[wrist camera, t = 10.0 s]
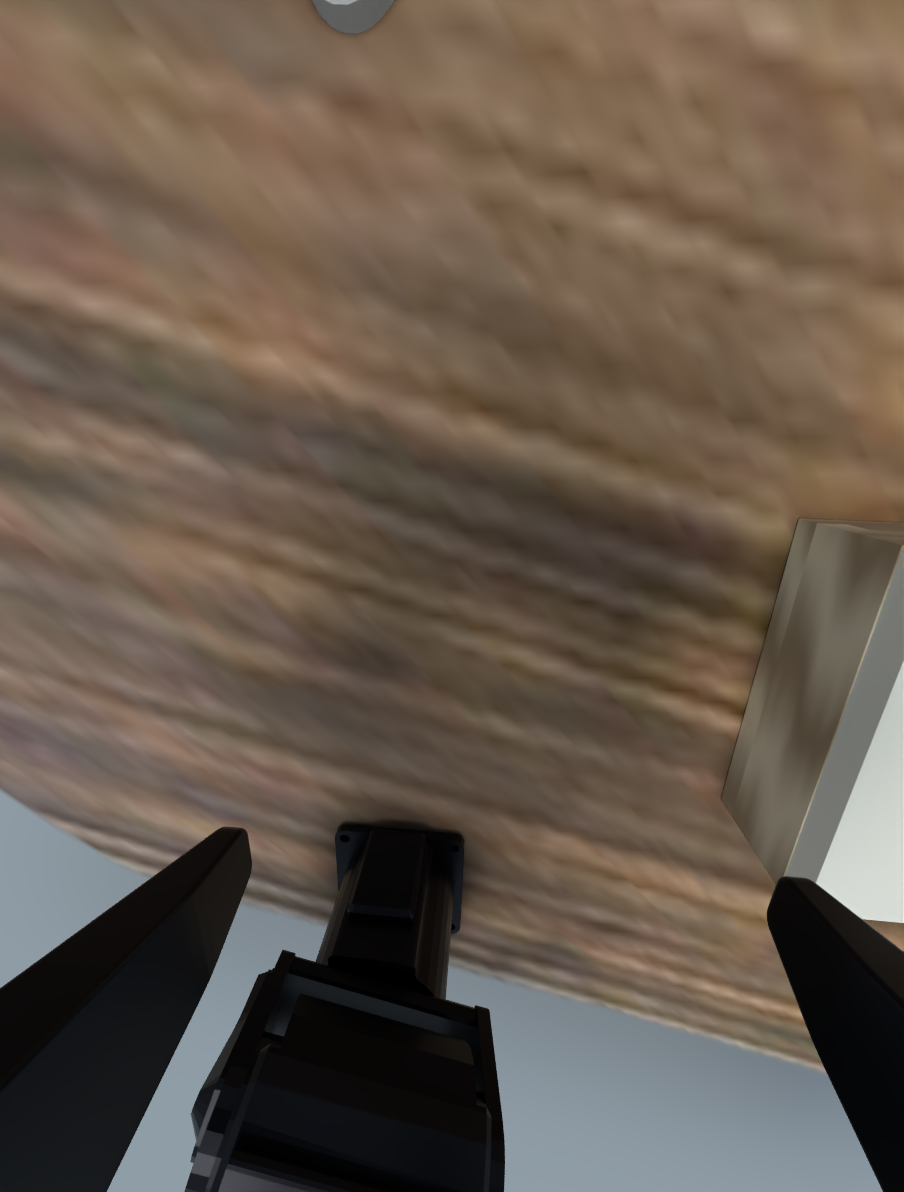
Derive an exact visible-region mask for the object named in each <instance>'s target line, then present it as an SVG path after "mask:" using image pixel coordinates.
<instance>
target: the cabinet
mask: <svg viewBox="0 0 904 1192" xmlns="http://www.w3.org/2000/svg"><path fill="white" fill-rule="evenodd" d="M901 553H904V523H897V522H873V521H849V520H824V519H800V518H799V520H798V524H797V527H796V531H795V534H794V538H793V542H792V545H791V549H790V552H789V556H788V560H787V563H786V567H785V570H784V574H783V578H782V581H781V585H780V588H779V592H778V596H777V599H776V603H775V606H774V610H773V614H772V617H771V621H770V624H769V628H768V632H767V635H766V639H765V642H764V646H763V649H762V653H761V657H760V660H759V664H758V667H757V671H756V675H755V678H754V682H753V685H752V689H751V693H750V696H749V700H748V703H747V707H746V711H745V714H744V718H743V721H742V725H741V729H740V732H739V736H738V739H737V743H736V747H735V750H734V754H733V757H732V761H731V765H730V768H729V772H728V775H727V779H726V783H725V786H724V790H723V793H722V797H721V800H722V801H723V803H724V805H725V806H726V808H727V809H728V811H729V812H730V814H731V815H732V817H733V819H734V820H735V822H736V823H737V825H738V826H739V828H740V829H741V831H742V833H743V834H744V836H745V837H746V839H747V840H748V842H749V843H750V845H751V847H752V848H753V850H754V851H755V853H756V854H757V856H758V858H759V859H760V861H761V862H762V864H763V865H764V867H765V868H766V870H767V872H768V873H769V875H770V876H771V878H772V879H773V881H774V882H775V884H777V881H778V879H780V878H781V877H783V876H785V874H786V871H787V868H788V866H789V863H790V860H791V857H792V855H793V852H794V849H795V846H796V844H797V841H798V838H799V835H800V833H801V830H802V827H803V824H804V821H805V819H806V816H807V813H808V810H809V808H810V805H811V802H812V799H813V797H814V794H815V791H816V788H817V786H818V783H819V780H820V777H821V774H822V772H823V769H824V766H825V763H826V761H827V758H828V755H829V752H830V750H831V747H832V744H833V741H834V739H835V736H836V733H837V730H838V728H839V725H840V722H841V719H842V716H843V714H844V711H845V708H846V705H847V703H848V700H849V697H850V694H851V692H852V689H853V686H854V683H855V681H856V678H857V675H858V672H859V670H860V667H861V664H862V661H863V658H864V656H865V653H866V650H867V647H868V645H869V642H870V639H871V636H872V634H873V631H874V628H875V625H876V623H877V620H878V617H879V614H880V611H881V609H882V606H883V603H884V600H885V598H886V595H887V592H888V589H889V587H890V584H891V581H892V578H893V576H894V573H895V570H896V567H897V565H898V562H899V559H900V556H901Z"/></svg>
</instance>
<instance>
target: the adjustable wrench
mask: <svg viewBox="0 0 904 1192" xmlns="http://www.w3.org/2000/svg"><path fill="white" fill-rule="evenodd" d="M312 1H313V3H314V5H315V7H316V9H317V11H318V13H319V15H320V16H321V17H322V18H323V19H324V20H325V21H326V22H327V23H328V24H329V25H330V27H332V28H334V29H336V30H338V31H340V32H342V33H347V34H359V33H361V32H363V31H366V30H368V29H371V28H372V27H373V26H374V25H375V24H376V23H377V22H378V21H379V20H380V19H381V18H382V17H383V16H384V14H385V13H386V12H387V10H388V9H389V8H390V6H391V5H392V4H393V2H394V1H395V0H312Z"/></svg>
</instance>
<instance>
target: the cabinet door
mask: <svg viewBox="0 0 904 1192" xmlns="http://www.w3.org/2000/svg"><path fill="white" fill-rule="evenodd" d="M785 876H790V877H801V878H807V879H810V880H812V881H813V882H815V883H816V884H818V885H819V886H820V887H821V888H823V889H824V890H825V891H827V892H828V893H829V894H830V895H832V896H833V897H834V898H836V899H837V900H838V901H839V902H841V903H842V904H843V905H844V906H846V907H847V908H848V909H850V910H851V911H852V912H853V913H855V914H856V915H857V916H859V917H860V918H861V919H868V920H878V921H889V922H900V923H904V553H901V556H900V559H899V562H898V565H897V567H896V570H895V573H894V576H893V578H892V581H891V584H890V587H889V589H888V592H887V595H886V598H885V600H884V603H883V606H882V609H881V611H880V614H879V617H878V620H877V623H876V625H875V628H874V631H873V634H872V636H871V639H870V642H869V645H868V647H867V650H866V653H865V656H864V658H863V661H862V664H861V667H860V670H859V672H858V675H857V678H856V681H855V683H854V686H853V689H852V692H851V694H850V697H849V700H848V703H847V705H846V708H845V711H844V714H843V716H842V719H841V722H840V725H839V728H838V730H837V733H836V736H835V739H834V741H833V744H832V747H831V750H830V752H829V755H828V758H827V761H826V763H825V766H824V769H823V772H822V774H821V777H820V780H819V783H818V786H817V788H816V791H815V794H814V797H813V799H812V802H811V805H810V808H809V810H808V813H807V816H806V819H805V821H804V824H803V827H802V830H801V833H800V835H799V838H798V841H797V844H796V846H795V849H794V852H793V855H792V857H791V860H790V863H789V866H788V868H787V871H786V874H785Z"/></svg>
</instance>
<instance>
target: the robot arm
mask: <svg viewBox="0 0 904 1192" xmlns="http://www.w3.org/2000/svg"><path fill="white" fill-rule="evenodd" d="M345 835H347V836H345ZM452 844H455V846H454V845H452ZM335 845H336V859H337V874H338V888H339V893H338V896H337V899H336V902H335V905H334V908H333V911H332V914H331V917H330V920H329V923H328V926H327V929H326V932H325V935H324V939H323V942H322V944H321V948H320V950H319V954H318V956H317V959H316V962H314V961H310V960H306V959H303V958H300V957H296V956H295V953H293V952H289V951H286V950H282V953H281V955H280V957H279V959H278V961H277V964H276V966H275V968H273V969H272V970H269V971H268V972H265V973H262V974H259V975H258V977H257V979H256V982H255V984H254V987H253V989H252V991H251V993H250V996H249V998H248V1000H247V1002H246V1005H245V1007H244V1010H243V1012H242V1014H241V1016H240V1018H239V1020H238V1022H237V1024H236V1026H235V1028H234V1030H233V1032H232V1034H231V1036H230V1038H229V1039H228V1041H227V1043H226V1045H225V1047H224V1049H223V1050H222V1052H221V1054H220V1056H219V1057H218V1059H217V1061H216V1063H215V1065H214V1067H213V1068H212V1070H211V1072H210V1074H209V1075H208V1077H207V1079H206V1081H205V1083H204V1084H203V1086H202V1088H201V1090H200V1092H199V1094H198V1097H197V1099H196V1102H195V1104H194V1107H193V1110H192V1113H191V1117H192V1122H193V1127H194V1132H195V1137H196V1144H195V1147H194V1150H193V1153H192V1157H191V1162H192V1163H194V1164H193V1167H192V1170H191V1173H190V1176H189V1179H188V1182H187V1186H186V1189H185V1192H504V1175H505V1145H504V1131H503V1120H502V1112H501V1103H500V1095H499V1087H498V1079H497V1070H496V1062H495V1054H494V1045H493V1037H492V1029H491V1021H490V1012H489V1009H487V1008H483V1007H480V1006H475V1007H474V1008H473V1007H470V1006H466V1005H462V1004H459V1003H455V1002H452V1001H449V1000H445V999H446V985H447V974H448V961H449V948H450V936H451V934H453V933H457V932H458V931H459V929H460V919H461V900H462V880H463V860H464V839H463V838H462V837H461V836H460V835H457V834H450V833H438V832H427V831H416V830H404V829H393V828H381V827H370V826H358V825H341V826H340V827H339V828H338V830H337V832H336V835H335ZM251 869H252V859H251V853H250V846H249V839H248V834H247V831H246V830H245V829H243V828H236V827H222V828H220V829H218V830H216V831H215V832H214V833H212V834H211V835H209V836H208V837H207V838H205V839H204V840H203V841H201V842H200V843H199V844H197V845H196V846H194V847H193V848H192V849H190V850H189V851H188V852H186V853H185V854H183V855H182V856H181V857H179V858H178V859H177V860H175V861H174V862H172V863H171V864H170V865H168V866H167V867H166V868H164V869H163V870H162V871H160V872H159V873H157V874H156V875H155V876H153V877H152V878H151V879H149V880H148V881H146V882H145V883H144V884H142V885H141V886H140V887H138V888H137V889H135V890H134V891H133V892H131V893H130V894H129V895H127V896H126V897H125V898H123V899H122V900H120V901H119V902H118V903H116V904H115V905H114V906H112V907H111V908H109V909H108V910H107V911H105V912H104V913H103V914H101V915H100V916H99V917H97V918H96V919H94V920H93V921H92V922H90V923H89V924H88V925H86V926H85V927H84V928H82V929H81V930H79V931H78V932H77V933H75V934H74V935H73V936H71V937H70V938H68V939H67V940H66V941H65V942H63V943H62V944H60V945H59V946H58V947H56V948H55V949H53V950H52V951H51V952H49V953H48V954H46V955H45V956H44V957H42V958H41V959H40V960H38V961H37V962H36V963H34V964H33V965H31V966H30V967H29V968H27V969H26V970H25V971H23V972H22V973H21V974H19V975H18V976H16V977H15V978H14V979H12V980H11V981H10V982H8V983H7V984H5V985H4V986H3V987H1V988H0V1192H107V1190H108V1188H109V1186H110V1184H111V1181H112V1179H113V1177H114V1175H115V1173H116V1171H117V1169H118V1167H119V1165H120V1163H121V1160H122V1159H123V1157H124V1155H125V1153H126V1151H127V1149H128V1147H129V1145H130V1143H131V1140H132V1138H133V1136H134V1134H135V1132H136V1130H137V1128H138V1126H139V1124H140V1122H141V1120H142V1118H143V1116H144V1114H145V1112H146V1110H147V1108H148V1106H149V1104H150V1102H151V1100H152V1097H153V1095H154V1093H155V1091H156V1089H157V1087H158V1085H159V1083H160V1081H161V1079H162V1077H163V1075H164V1073H165V1071H166V1069H167V1067H168V1065H169V1063H170V1061H171V1058H172V1056H173V1054H174V1052H175V1050H176V1048H177V1046H178V1044H179V1042H180V1040H181V1038H182V1036H183V1034H184V1032H185V1030H186V1028H187V1026H188V1024H189V1022H190V1020H191V1018H192V1016H193V1013H194V1011H195V1009H196V1007H197V1005H198V1003H199V1001H200V999H201V997H202V995H203V993H204V991H205V988H206V986H207V984H208V982H209V980H210V978H211V975H212V973H213V970H214V968H215V965H216V963H217V961H218V958H219V955H220V953H221V950H222V948H223V945H224V943H225V940H226V937H227V935H228V932H229V930H230V927H231V924H232V922H233V919H234V917H235V914H236V911H237V909H238V906H239V904H240V901H241V899H242V896H243V893H244V891H245V888H246V886H247V883H248V880H249V878H250V874H251ZM767 922H768V926H769V929H770V932H771V935H772V937H773V940H774V943H775V945H776V948H777V950H778V953H779V956H780V958H781V961H782V964H783V966H784V969H785V971H786V974H787V977H788V979H789V982H790V985H791V987H792V990H793V992H794V995H795V998H796V1000H797V1003H798V1005H799V1008H800V1011H801V1013H802V1016H803V1019H804V1021H805V1024H806V1026H807V1029H808V1031H809V1034H810V1036H811V1039H812V1041H813V1043H814V1046H815V1048H816V1050H817V1052H818V1055H819V1057H820V1059H821V1061H822V1063H823V1066H824V1068H825V1070H826V1072H827V1074H828V1076H829V1078H830V1080H831V1082H832V1085H833V1087H834V1089H835V1091H836V1093H837V1095H838V1097H839V1099H840V1102H841V1104H842V1106H843V1108H844V1110H845V1112H846V1114H847V1116H848V1119H849V1121H850V1123H851V1124H852V1127H853V1129H854V1131H855V1133H856V1135H857V1137H858V1140H859V1142H860V1144H861V1146H862V1148H863V1150H864V1152H865V1154H866V1157H867V1159H868V1161H869V1163H870V1165H871V1167H872V1169H873V1171H874V1173H875V1176H876V1178H877V1180H878V1182H879V1184H880V1186H881V1188H882V1190H883V1192H904V951H902V950H901V949H900V948H898V947H897V946H896V945H895V944H893V943H892V942H891V941H889V940H888V939H887V938H886V937H884V936H883V935H882V934H880V933H879V932H878V931H877V930H875V929H874V928H873V927H871V926H870V925H869V924H868V923H866V922H865V921H864V920H862V919H861V918H860V917H859V916H857V915H856V914H855V913H853V912H852V911H851V910H850V909H848V908H847V907H846V906H844V905H843V904H842V903H841V902H839V901H838V900H837V899H836V898H834V897H833V896H832V895H830V894H829V893H828V892H827V891H825V890H824V889H823V888H821V887H820V886H819V885H818V884H816V883H815V882H813V881H812V880H810V879H807V878H801V877H790V876H783V877H781V878H780V879H778V881H777V884H776V887H775V889H774V892H773V895H772V898H771V901H770V904H769V906H768V910H767Z"/></svg>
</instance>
